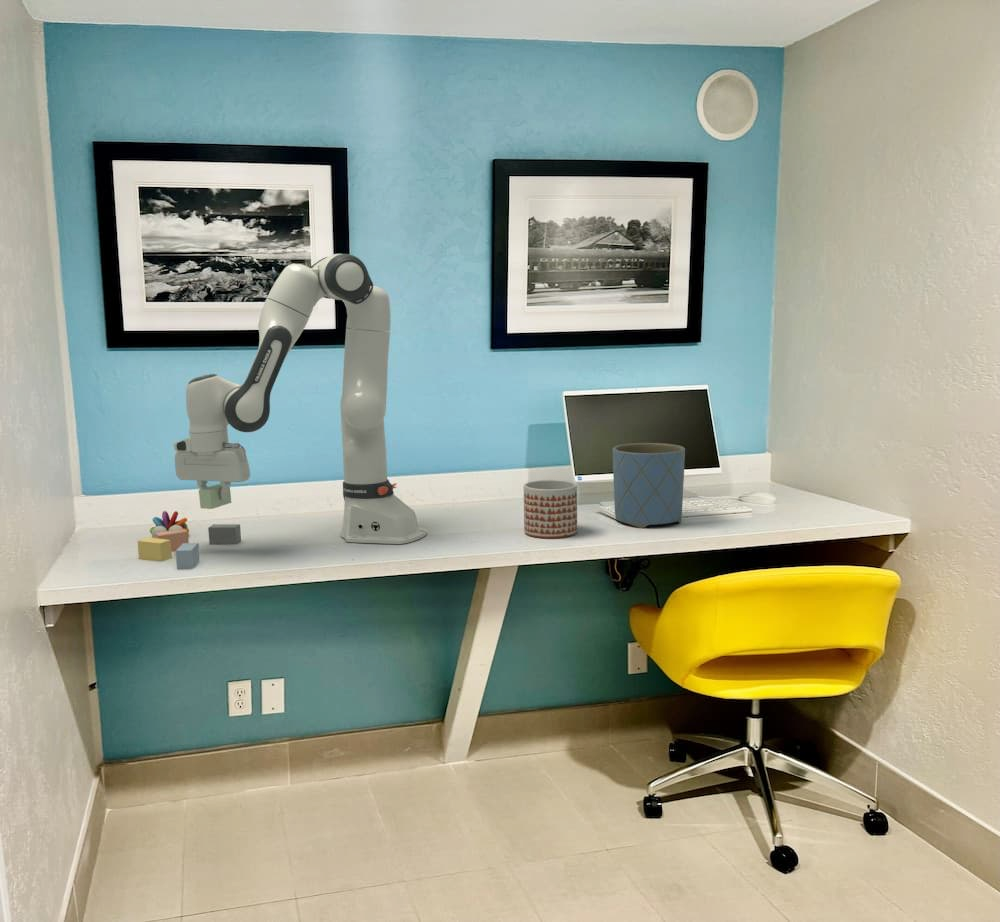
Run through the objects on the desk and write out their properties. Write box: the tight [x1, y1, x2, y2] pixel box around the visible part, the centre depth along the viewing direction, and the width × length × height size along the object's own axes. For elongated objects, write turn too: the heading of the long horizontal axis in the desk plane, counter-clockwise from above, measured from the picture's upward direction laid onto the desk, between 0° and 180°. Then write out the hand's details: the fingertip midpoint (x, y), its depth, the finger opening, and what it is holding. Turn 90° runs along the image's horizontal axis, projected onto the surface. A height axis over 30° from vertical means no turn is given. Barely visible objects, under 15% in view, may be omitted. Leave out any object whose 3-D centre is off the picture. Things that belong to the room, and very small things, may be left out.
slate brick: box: [175, 542, 200, 570], centre depth 222 cm, size 7×4×4 cm, turn 5°
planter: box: [612, 442, 686, 529], centre depth 256 cm, size 19×19×20 cm
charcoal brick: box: [207, 523, 242, 545], centre depth 243 cm, size 7×4×4 cm, turn 86°
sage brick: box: [198, 483, 232, 510], centre depth 232 cm, size 7×4×4 cm, turn 155°
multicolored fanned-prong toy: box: [149, 510, 190, 538], centre depth 249 cm, size 8×10×7 cm
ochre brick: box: [137, 537, 173, 562], centre depth 229 cm, size 7×4×4 cm, turn 66°
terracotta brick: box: [155, 529, 190, 552], centre depth 237 cm, size 7×4×4 cm, turn 123°
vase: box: [523, 479, 578, 540], centre depth 246 cm, size 14×14×13 cm
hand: (215, 498), depth 232 cm, fingers closed on sage brick, 3 cm apart
